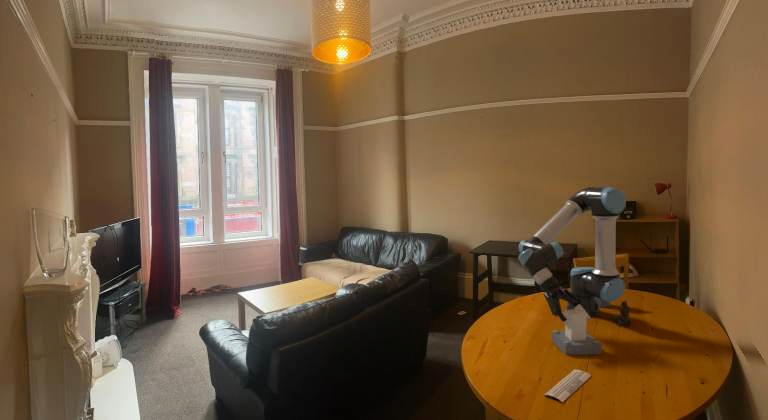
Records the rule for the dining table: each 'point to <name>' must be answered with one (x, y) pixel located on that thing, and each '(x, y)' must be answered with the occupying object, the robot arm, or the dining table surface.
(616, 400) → the dining table surface
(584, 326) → the tower brick
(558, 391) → the newspaper
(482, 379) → the dining table surface
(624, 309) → the dark figurine
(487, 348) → the dining table surface
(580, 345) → the base plate
